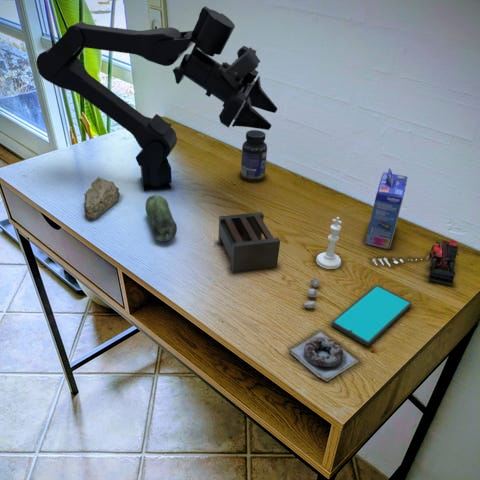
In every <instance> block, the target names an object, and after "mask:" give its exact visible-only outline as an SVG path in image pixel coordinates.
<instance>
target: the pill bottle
mask: <svg viewBox="0 0 480 480" xmlns="http://www.w3.org/2000/svg"><path fill="white" fill-rule="evenodd" d="M266 137H267V136H266V133H265V132H264V131H262V130H258V129H251V130H247V131H246V132H245V141H243V143H242V146H241V161H240V162H241V164H240V176H241V178H242V179H243V180H245V181H247V182H260V181H263V180H264V179H265V177H266V165H267V154H268V145H267V143H266V142H265V140H266Z"/></svg>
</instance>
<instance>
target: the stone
mask: <svg viewBox="0 0 480 480" xmlns="http://www.w3.org/2000/svg"><path fill="white" fill-rule="evenodd" d="M119 191H120V189H119V187H117V185H116V184H115V182H114V181H111V180H108V179H105V178H103V177H99V176H97V178H96V179H95V180H93V181H92V182H91V184H90V187H88V190H86V191H85V193H84V194H83V195H84V196H85V197H84V204H83V205H84V206H83V207H84V214H85V215H86V217H87V219H88V220H91V221H94V220H96V219H98V218H100V217H102V215H103V214H104V213H106V212H107V210H108V209H110V208H112V207H113V206H114V204H116V203H117V202H118V201H119V199H120V196H121V195H120V192H119Z"/></svg>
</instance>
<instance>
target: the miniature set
mask: <svg viewBox="0 0 480 480" xmlns="http://www.w3.org/2000/svg"><path fill="white" fill-rule="evenodd" d="M429 257H430V254H429V255H427V257H426V259H425V260H426V261H427V260H428V259H429ZM391 259H392V260H393V263H394V264H395V265H397V264H399V261H400V263H403V264H404V260H403V259H402V258H400V259H399V261H398V260H396V258H395V257H391ZM377 260H378V261H379V262H380V263H381V265H382V266H385V264H384V262H385V263H386V264H387V265H388V266H389V267H391V263H389V261H388V258H386V257H383V258H377V259H376V258H372V260H371V261H372V263H374V265H375V266H378V263H377ZM422 260H423V259H422V258H421V259H420V261H422ZM408 261H411V262H414V260H413V259H412V258H410V259H407V262H408ZM417 261H418V259H417V258H416V259H415V262H417Z"/></svg>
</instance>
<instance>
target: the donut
mask: <svg viewBox="0 0 480 480" xmlns="http://www.w3.org/2000/svg"><path fill="white" fill-rule="evenodd" d="M341 343H342V342H340V341H337V340H333V339H332V338H330V337H328V336H327V335H326V334H325V333H324V332H323V331H319V332H317V333H316V334H314V335H313V336H311V337H309V338H308V339H306V340H305V341H302V342H301V343H299V344H297V345H296V346H294V347H293V348H290V350H289V351H290V354H291V355H292V356H294V358H295V359H297V361H299V362H300V363H301V364H302V365H303V366H304V367H306V368H307V369H308V370H310V371H311V372H312V373H313V374H314V375H315V376H316V377H318V378H319V379H321V380H324V381H326V382H329V381H331V380H332V379H333V378H335V377H336V376H338V375H340V374H341V373H343V372H345V371H346V370H348V369H349V368H351V367H353V366H354V365H355V364H358V363H359V361H360V360H357V358H355V357H354V356H352V355H351V354H350V353H349V352H348V351H346V350H345V349H344V348H343V347H342V346H341Z"/></svg>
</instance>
